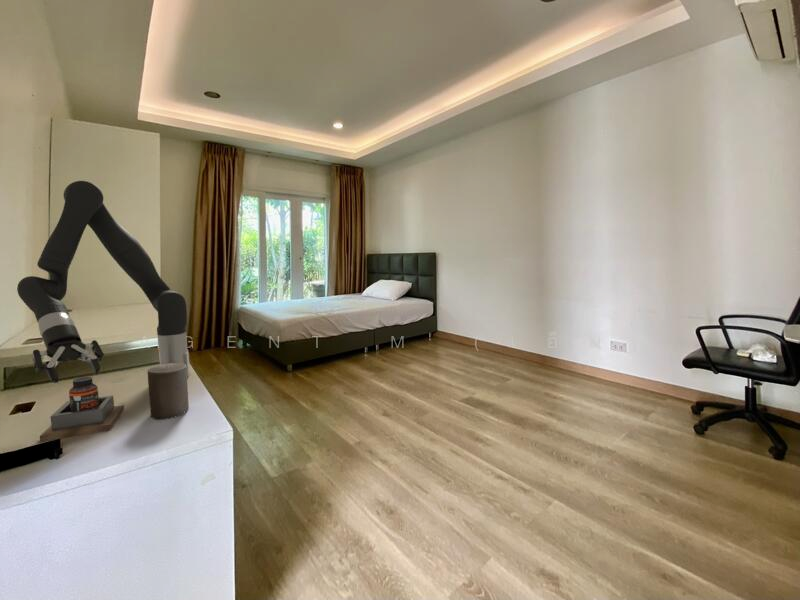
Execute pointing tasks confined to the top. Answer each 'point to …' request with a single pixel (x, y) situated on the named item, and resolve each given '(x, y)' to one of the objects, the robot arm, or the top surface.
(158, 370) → the pillar candle
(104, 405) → the grey square tray
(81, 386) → the supplement bottle
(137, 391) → the top surface
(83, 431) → the socket board
